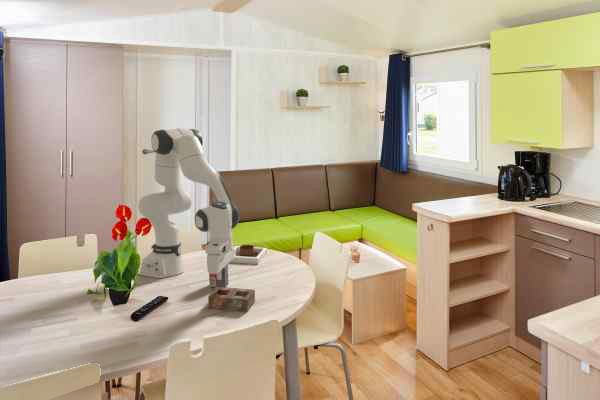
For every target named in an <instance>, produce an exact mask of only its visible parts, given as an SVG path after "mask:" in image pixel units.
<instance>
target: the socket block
mask: <svg viewBox="0 0 600 400" xmlns="http://www.w3.org/2000/svg"><path fill="white" fill-rule="evenodd" d="M255 291H256V290H255V289H250V288H249V289H248V288H238V287H226V288H224V287H217V288H214V290H213V291H212V292H211V293H210V294H209V295H208V298H207V302H208V309H210V310H211V309H212V310H225V311H236V312H246V313H248V312H249V311H250V310H251V308H252V306H253V305H254V303H255V302H256V292H255Z"/></svg>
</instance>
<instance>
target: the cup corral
mask: <svg viewBox="0 0 600 400" xmlns="http://www.w3.org/2000/svg"><path fill="white" fill-rule="evenodd" d="M240 246H241V245H235V246H233V249H234V258H233V259H232V260H231V261H230V262H229V263H234V264H235V263H236V264H237V263H238V264H251V265H259V264H260V263H261V262H262V261H263V259H264V258H265V257H264V256H267V254H268V247H255V246H254V252H257V253H260V254H258V256H257V257H243V256H236V253H238V252H240Z"/></svg>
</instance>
